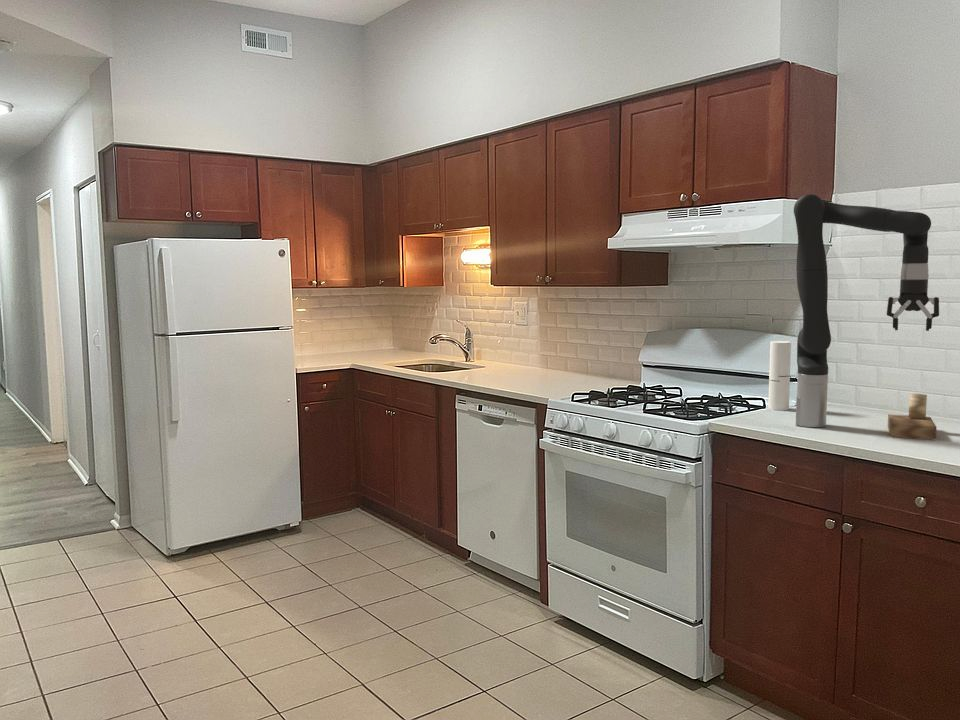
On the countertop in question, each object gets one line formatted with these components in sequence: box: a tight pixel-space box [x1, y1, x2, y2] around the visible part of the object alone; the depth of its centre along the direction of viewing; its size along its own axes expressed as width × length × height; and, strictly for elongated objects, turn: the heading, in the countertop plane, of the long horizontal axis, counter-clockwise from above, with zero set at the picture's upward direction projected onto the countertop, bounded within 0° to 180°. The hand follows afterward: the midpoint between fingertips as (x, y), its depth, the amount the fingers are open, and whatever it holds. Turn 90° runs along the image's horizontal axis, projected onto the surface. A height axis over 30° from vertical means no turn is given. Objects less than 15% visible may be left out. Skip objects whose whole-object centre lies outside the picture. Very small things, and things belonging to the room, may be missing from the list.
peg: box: [907, 393, 928, 419], centre depth 250 cm, size 5×5×11 cm
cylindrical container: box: [767, 340, 792, 411], centre depth 291 cm, size 7×7×25 cm
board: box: [887, 413, 937, 440], centre depth 247 cm, size 12×18×4 cm, turn 156°
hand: (911, 330), depth 246 cm, fingers open, 8 cm apart
